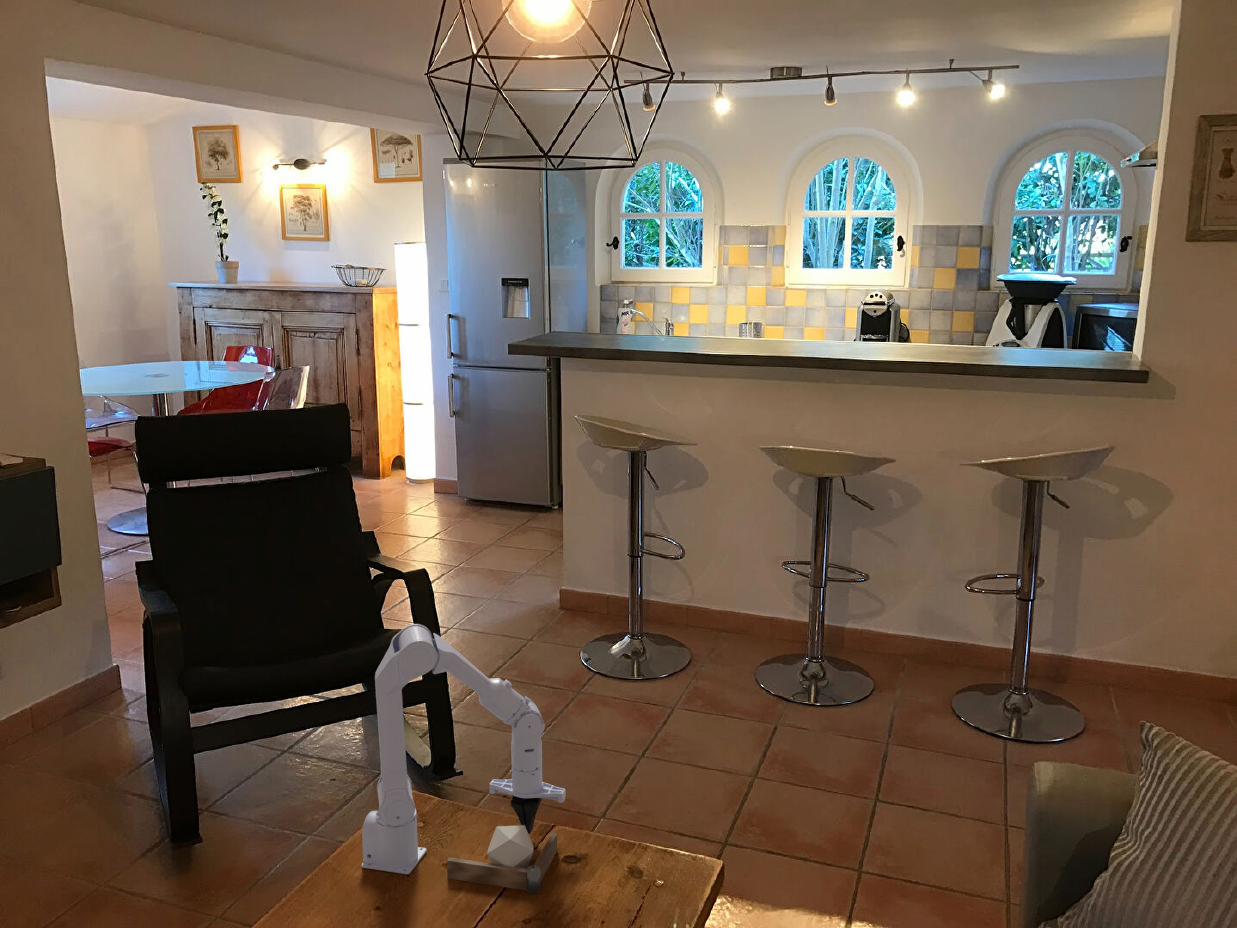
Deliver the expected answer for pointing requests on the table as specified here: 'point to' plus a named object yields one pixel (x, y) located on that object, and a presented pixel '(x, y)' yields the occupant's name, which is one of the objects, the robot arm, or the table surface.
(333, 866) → the table surface
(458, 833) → the table surface
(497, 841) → the die
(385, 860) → the robot arm
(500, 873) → the wooden l-shaped bracket
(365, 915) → the table surface
